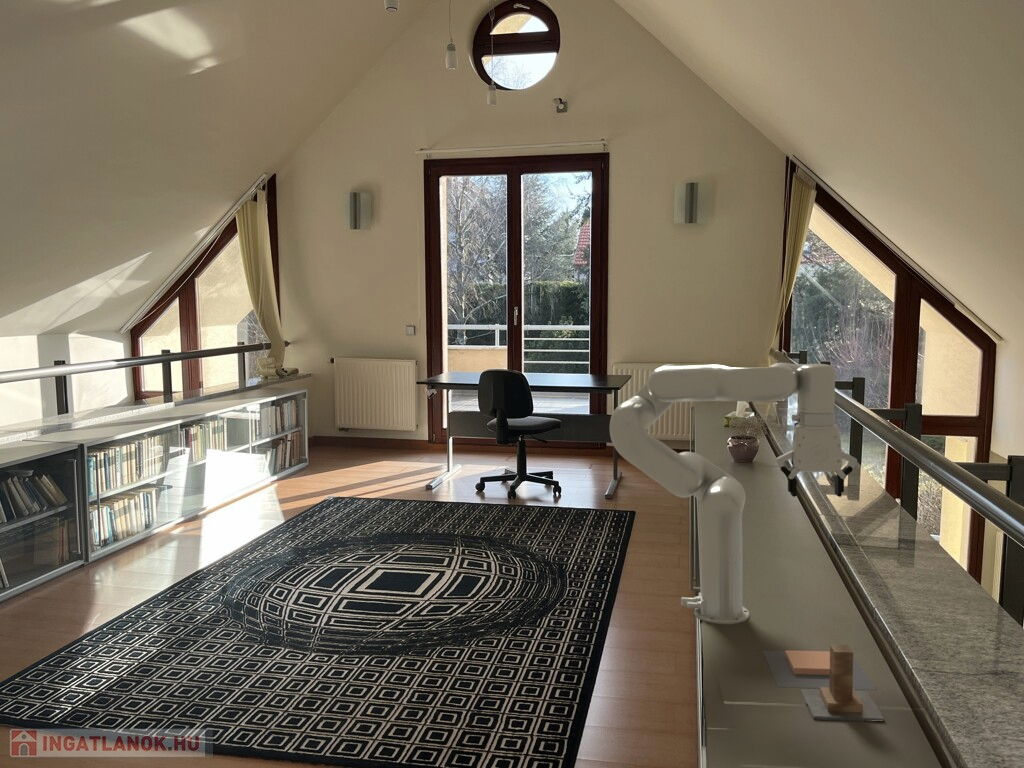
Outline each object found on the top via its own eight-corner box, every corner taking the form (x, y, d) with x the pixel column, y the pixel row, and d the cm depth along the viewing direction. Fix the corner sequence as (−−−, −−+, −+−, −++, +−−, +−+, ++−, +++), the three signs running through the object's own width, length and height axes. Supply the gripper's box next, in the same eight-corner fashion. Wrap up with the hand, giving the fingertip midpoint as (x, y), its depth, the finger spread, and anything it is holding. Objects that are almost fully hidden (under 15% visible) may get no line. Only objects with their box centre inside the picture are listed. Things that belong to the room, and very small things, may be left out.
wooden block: (827, 710, 145) (828, 655, 144) (819, 694, 151) (820, 640, 150) (862, 712, 144) (863, 656, 143) (853, 695, 150) (853, 641, 149)
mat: (777, 688, 155) (777, 686, 155) (762, 652, 170) (762, 650, 170) (876, 691, 152) (876, 689, 152) (851, 654, 168) (851, 652, 168)
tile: (785, 656, 167) (793, 674, 159) (785, 650, 167) (793, 667, 159) (835, 658, 166) (846, 676, 158) (835, 651, 166) (846, 669, 158)
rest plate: (813, 719, 143) (813, 716, 143) (800, 692, 153) (800, 689, 153) (884, 721, 142) (884, 718, 142) (866, 694, 152) (866, 691, 151)
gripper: (779, 422, 176) (779, 499, 178) (862, 422, 174) (860, 499, 175) (772, 417, 183) (772, 491, 185) (852, 416, 181) (851, 491, 183)
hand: (815, 495), depth 180 cm, fingers open, 9 cm apart
